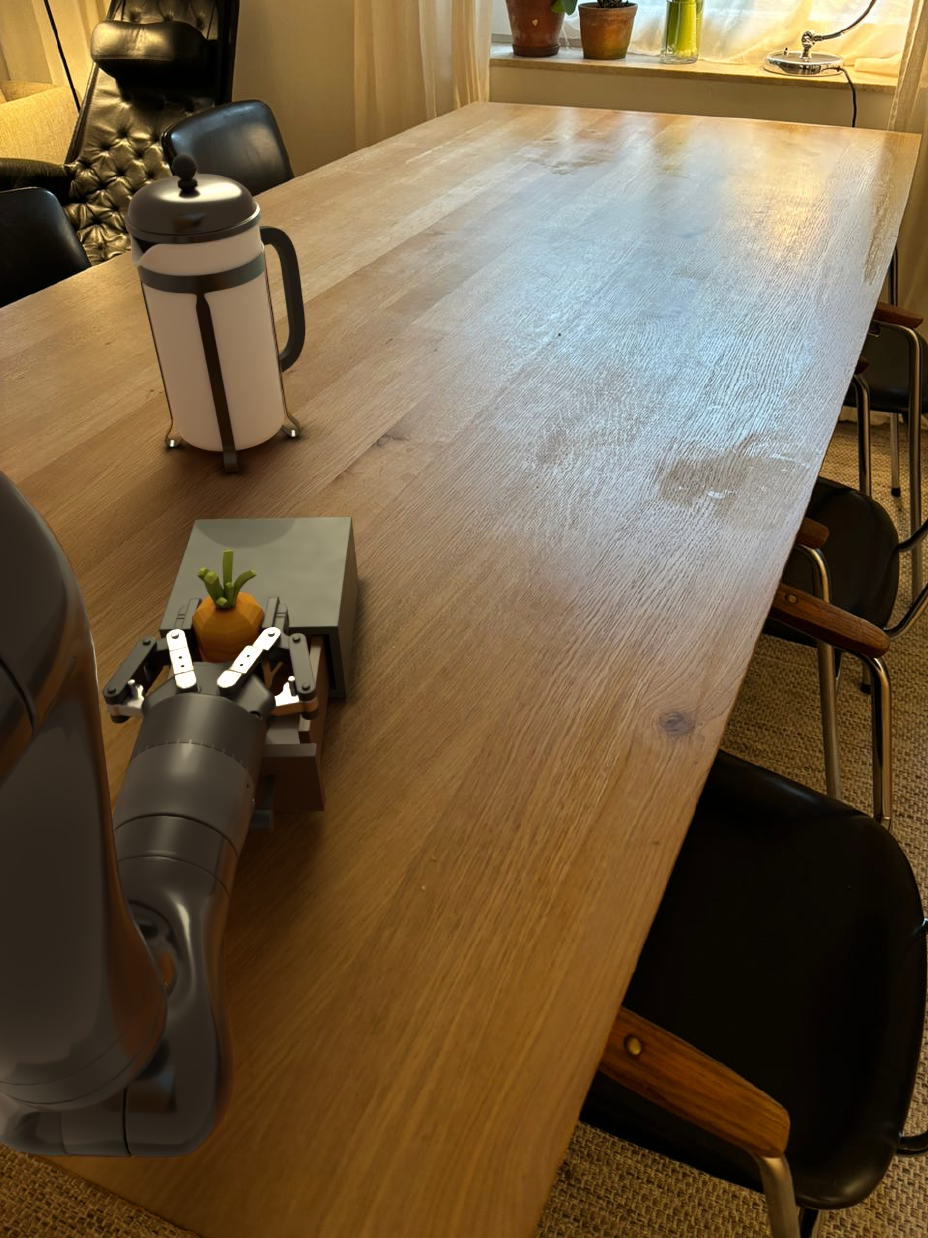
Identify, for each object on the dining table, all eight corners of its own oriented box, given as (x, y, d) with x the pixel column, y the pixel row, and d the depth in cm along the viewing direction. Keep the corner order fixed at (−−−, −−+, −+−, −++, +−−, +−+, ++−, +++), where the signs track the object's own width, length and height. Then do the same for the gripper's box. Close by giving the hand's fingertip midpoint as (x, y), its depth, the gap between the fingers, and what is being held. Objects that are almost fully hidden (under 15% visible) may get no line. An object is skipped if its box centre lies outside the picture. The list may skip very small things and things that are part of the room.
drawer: (318, 862, 67) (308, 808, 63) (134, 866, 67) (113, 811, 63) (339, 678, 80) (332, 624, 77) (186, 681, 80) (172, 627, 77)
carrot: (250, 689, 77) (217, 531, 68) (297, 715, 75) (270, 555, 65) (203, 727, 74) (161, 567, 65) (250, 756, 72) (214, 594, 62)
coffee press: (307, 471, 106) (268, 175, 86) (156, 478, 105) (82, 182, 86) (314, 394, 119) (282, 122, 100) (180, 399, 118) (121, 127, 99)
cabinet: (346, 697, 80) (338, 626, 75) (178, 700, 80) (158, 629, 75) (358, 584, 91) (351, 516, 86) (210, 587, 91) (195, 518, 86)
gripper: (304, 744, 55) (331, 562, 69) (48, 749, 55) (124, 566, 68) (319, 829, 60) (341, 643, 73) (83, 833, 60) (148, 647, 73)
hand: (236, 607), depth 71 cm, fingers closed on carrot, 5 cm apart
